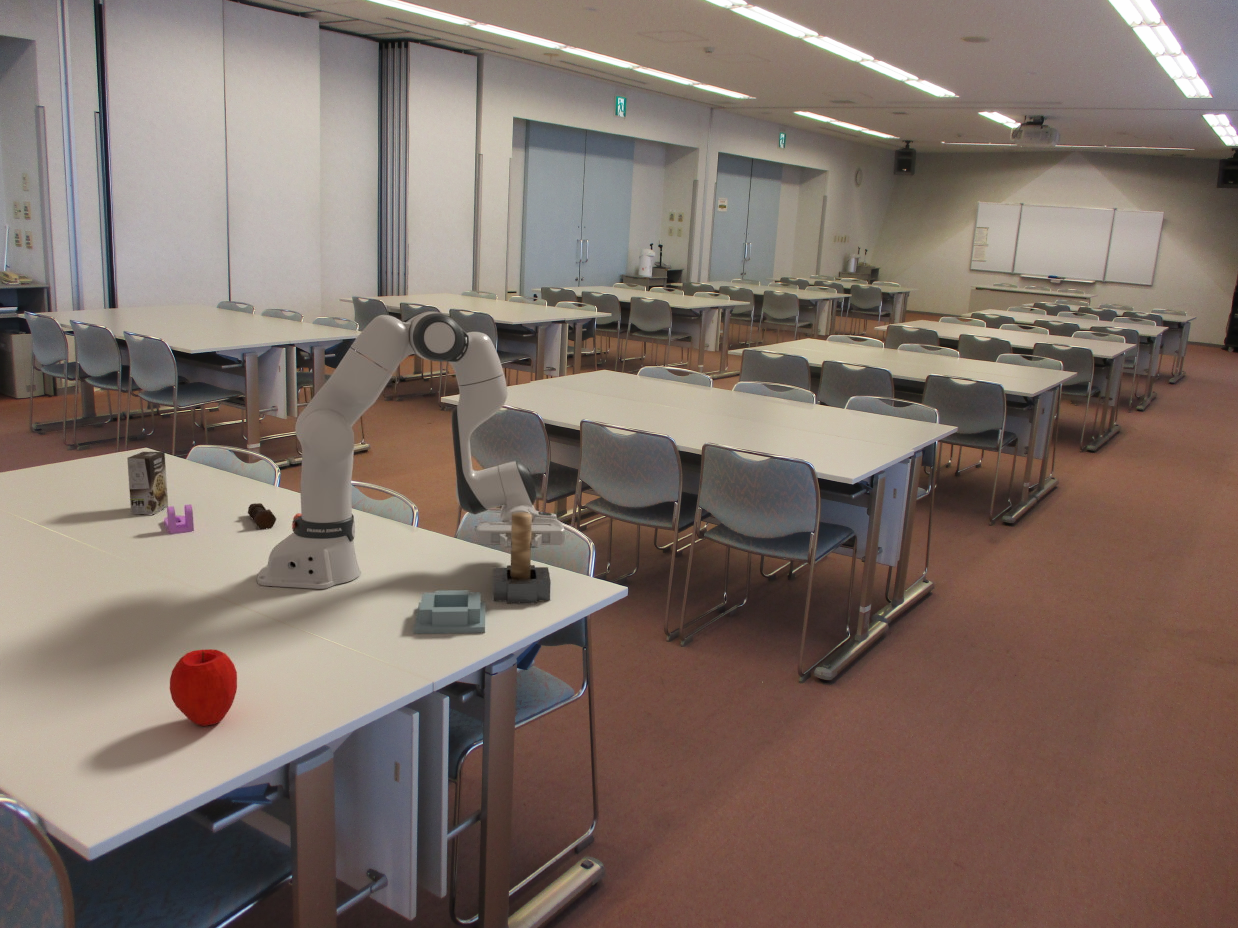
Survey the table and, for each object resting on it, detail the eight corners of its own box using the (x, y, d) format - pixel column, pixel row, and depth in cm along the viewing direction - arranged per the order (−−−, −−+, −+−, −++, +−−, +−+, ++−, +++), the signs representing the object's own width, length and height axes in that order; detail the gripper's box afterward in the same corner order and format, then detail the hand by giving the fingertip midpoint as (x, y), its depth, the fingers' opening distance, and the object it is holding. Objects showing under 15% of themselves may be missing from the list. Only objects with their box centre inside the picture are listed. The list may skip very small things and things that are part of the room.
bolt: (257, 521, 265) (269, 533, 252) (240, 514, 262) (251, 526, 249) (267, 502, 265) (279, 514, 253) (250, 495, 262) (261, 506, 250)
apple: (157, 728, 148) (152, 656, 145) (205, 702, 157) (201, 633, 154) (207, 742, 145) (202, 668, 142) (253, 714, 154) (249, 644, 151)
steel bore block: (493, 603, 205) (493, 584, 204) (493, 583, 217) (493, 565, 216) (550, 602, 207) (551, 583, 206) (547, 583, 219) (547, 565, 218)
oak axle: (510, 587, 209) (511, 517, 206) (510, 580, 213) (511, 512, 210) (530, 587, 210) (532, 517, 206) (529, 580, 214) (531, 512, 210)
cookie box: (153, 515, 259) (149, 458, 256) (130, 514, 259) (125, 457, 256) (169, 506, 268) (165, 451, 265) (147, 505, 268) (142, 450, 265)
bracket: (194, 531, 247) (192, 506, 246) (170, 534, 244) (169, 508, 242) (185, 519, 258) (183, 494, 256) (162, 521, 255) (161, 496, 253)
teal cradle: (413, 633, 188) (413, 613, 187) (419, 607, 201) (418, 589, 200) (484, 632, 190) (485, 612, 189) (485, 606, 203) (485, 588, 202)
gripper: (474, 512, 220) (473, 530, 206) (562, 513, 223) (567, 530, 209) (474, 538, 221) (473, 557, 208) (561, 539, 224) (566, 558, 211)
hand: (521, 544), depth 209 cm, fingers closed on oak axle, 4 cm apart
